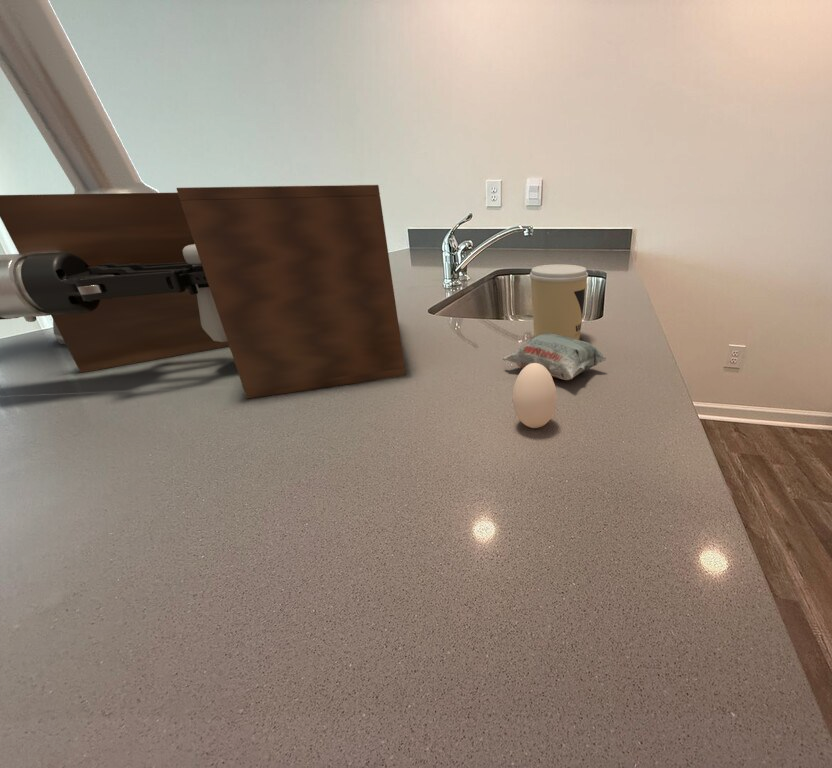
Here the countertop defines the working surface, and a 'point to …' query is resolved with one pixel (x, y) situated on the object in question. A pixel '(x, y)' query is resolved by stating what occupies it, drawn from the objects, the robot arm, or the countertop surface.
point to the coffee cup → (558, 299)
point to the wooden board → (299, 283)
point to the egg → (534, 396)
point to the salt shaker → (205, 301)
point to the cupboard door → (122, 244)
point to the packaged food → (557, 355)
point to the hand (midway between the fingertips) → (254, 271)
